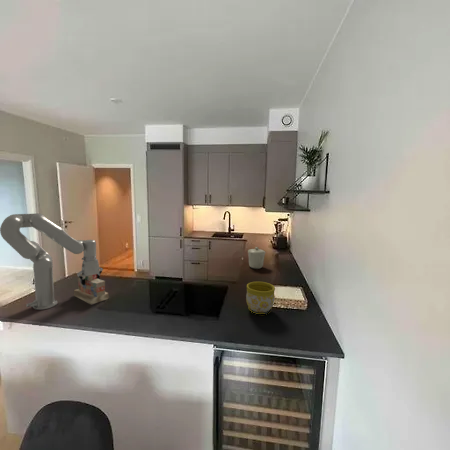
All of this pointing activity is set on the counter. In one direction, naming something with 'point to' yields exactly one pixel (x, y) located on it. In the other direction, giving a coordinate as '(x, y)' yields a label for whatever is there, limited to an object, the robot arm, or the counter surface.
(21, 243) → the robot arm
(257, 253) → the canister
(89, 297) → the birch plinth
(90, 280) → the stack of blocks
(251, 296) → the flowerpot
